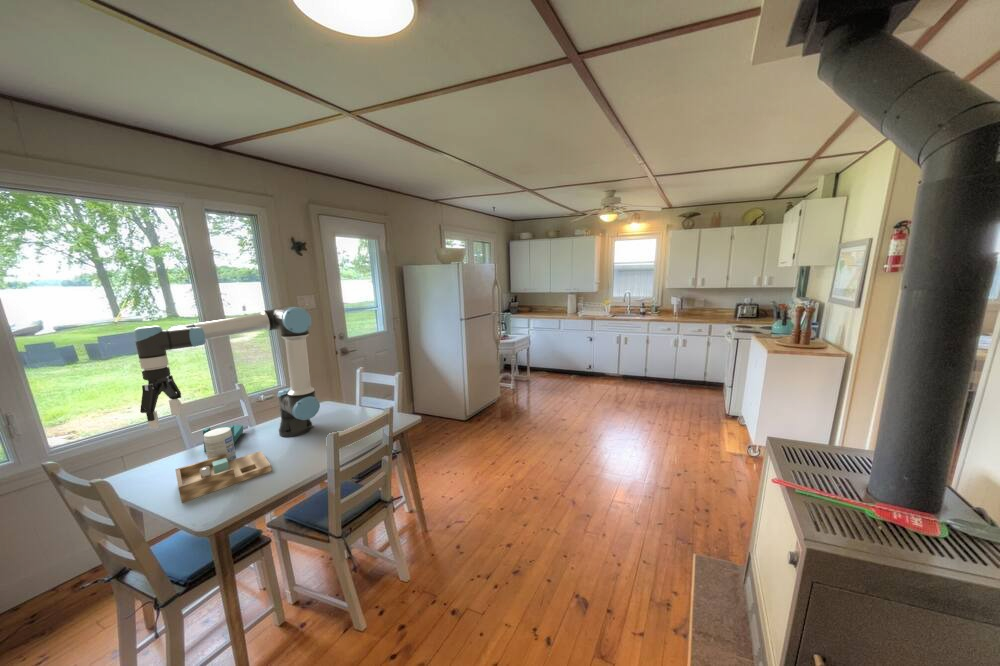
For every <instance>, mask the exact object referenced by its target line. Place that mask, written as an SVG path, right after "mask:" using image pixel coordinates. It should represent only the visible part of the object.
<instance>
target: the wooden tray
mask: <svg viewBox="0 0 1000 666" xmlns="http://www.w3.org/2000/svg"><path fill="white" fill-rule="evenodd" d="M224 458H226V459H227V455H226V454H224V455H221V456H217V457H214V458H211V459H208V458H207V459H205V460H202V461H197V462H195V463H191V464H188V465H185V466H182V467H181V466H180V467H178V468H175V475H176V482H177V487H178V492H179V497H180V502H181V503H185V502H188V501H190V500H193V499H196V498H199V497H202V496H204V495H208V494H210V493H214V492H216V491H218V490H222V489H225V488H226V487H230V486H232V485H233V486H234V485H236V484H239V483H241V482H244V481H246V480H250V479H252V478H255V477H258V476H260V475H264V474H267V473H269V472H271V471H272V465H271V463H270V462H269V460H268V459H267V458H266V456H265V455H264V453H263V452H262V451H261V450H259V451H257V452H253V453H250V454H247V455H245V456H241V457H238V458H237V457H236V459H234V460H231V461H228V460H227V461H228V465H229V470H226V471H223V472H220V473H217V474H214V470H213V464H212V462H214V461H217V460H220V459H224ZM206 466H210V470H211V476H208V477H205V478H201V474H200V469H201V468H203V467H206ZM181 503H180V504H181Z"/></svg>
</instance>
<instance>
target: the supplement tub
mask: <svg viewBox="0 0 1000 666" xmlns="http://www.w3.org/2000/svg"><path fill="white" fill-rule="evenodd" d="M223 427H224V428H218V429H216V428H214V429H212V430H211V429H210V430H211V431H209V432H207V433H205V434H204V439H203V444H204V443H205V448H206V452H205V453H206V458H207V460H208V459H211V458H214V457H217V456H221V455H224V454H226V455H227V460H228V461H231V460H234V459H237V454H236V448H235V444H234V442H233V436H232V431H231V428H228V427H225V426H223Z"/></svg>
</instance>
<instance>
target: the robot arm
mask: <svg viewBox="0 0 1000 666" xmlns="http://www.w3.org/2000/svg"><path fill="white" fill-rule="evenodd" d="M311 326H312V318H311V315H310V313H309V312H308V311H307V310H305V309H304V308H301V307H300V306H287V305H286V306H280V307H277V308H272V309H268V310H262V311H261V312H260V313H257V314H256V313H255V314H250V315H244V316H243V315H242V316H236V317H230V318H224V319H217V320H211V321H209V320H208V321H204V322H198V323H190V324H185V325H174V326H171V327H170V328H168V329H167V330H165V329H164V330H163V328H162V326H160V325H150V326H149V325H148V326H141V327H137V328H135V329H134V330H133V335H134V342H135V346H136V351H137V355H138V359H139V360H138V362H139V364H140V369H142V370H141V375H142V379H143V380H144V381H147V383H148V384H142V386H141V388H142V393H141V394H142V395H141V401H140V402H141V403H140V412H139V413H141V414H146V418H147V423H148V427H149V430H156V429H159V428H161V426H160V425H161V424H160V421H159V416H158V411H157V410H155V409H156V406H157V403H158V399H159V395H161V394H162V392H163V393H164V394H165V395H166V397H168V398H169V400H168V403H169V409H170V414H171V416H172V417H173V416H180V415H181V414H182V413H181V408H180V402H179V399H181V398H182V392H181V391H180V388H179V387H178V386H177V384H176V382H175V380H174V377H173V375H171V369H170V366H168V365H170V364H169V358H168V354H167V351H170V350H176V349H177V350H178V349H184V348H193V347H194V348H196V347H200V346H204V345H205V344H206V340H211V339H217V338H223V337H229V336H235V335H240V334H245V333H251V332H257V331H261V330H265V331H267V332H268V331H269V332H270V331H272V330H273V331H277V330H279V331H280V337H281V338H282V339H283V340H284V341H285V348H286V349H285V351H286V358H287V359H286V360H287V361H286V362H287V369H288V377H289V385H290V387H286V388H282V389H280V390H279V391H278V392H277V401H278V407H279V413H280V424H279V427H278V432H279V434H278V435H279V437H282V438H293V437H297V436H301V435H304V434H306V433H309V432H310V431H312V429H313V427H314V426H313V422H312V420H311V419H312V418H314V417H315V416H316V415H317V413H319V410H320V409H321V408H320V407H321V405H320V404H321V403H320V401H319V399H318V398H317V397H316V389H315V388H314V387H313V386H312V385H311V374H310V364H309V354H308V345H307V337H308V336H309V335H310V331H309V329H310V328H311Z"/></svg>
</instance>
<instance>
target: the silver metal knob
mask: <svg viewBox="0 0 1000 666" xmlns="http://www.w3.org/2000/svg"><path fill="white" fill-rule="evenodd" d="M200 474H201V478H205V477H208V476H211V470H210V466H206V467H203V468H201V469H200Z"/></svg>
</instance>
